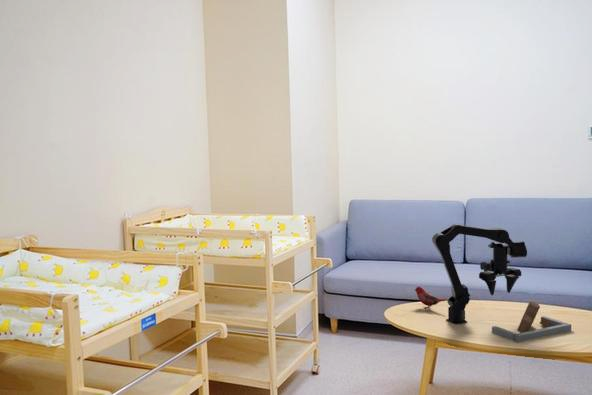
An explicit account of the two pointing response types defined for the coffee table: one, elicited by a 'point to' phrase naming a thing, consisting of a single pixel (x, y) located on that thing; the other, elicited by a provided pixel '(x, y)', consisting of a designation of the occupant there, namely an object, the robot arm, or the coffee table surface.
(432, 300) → the decorative bird figurine
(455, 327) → the coffee table surface
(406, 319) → the coffee table surface
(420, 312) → the coffee table surface
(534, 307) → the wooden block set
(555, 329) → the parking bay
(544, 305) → the coffee table surface
